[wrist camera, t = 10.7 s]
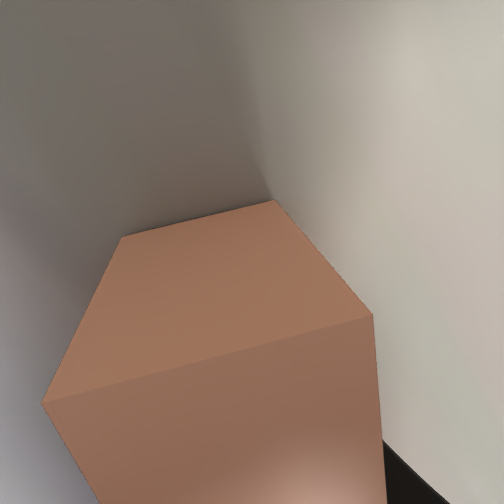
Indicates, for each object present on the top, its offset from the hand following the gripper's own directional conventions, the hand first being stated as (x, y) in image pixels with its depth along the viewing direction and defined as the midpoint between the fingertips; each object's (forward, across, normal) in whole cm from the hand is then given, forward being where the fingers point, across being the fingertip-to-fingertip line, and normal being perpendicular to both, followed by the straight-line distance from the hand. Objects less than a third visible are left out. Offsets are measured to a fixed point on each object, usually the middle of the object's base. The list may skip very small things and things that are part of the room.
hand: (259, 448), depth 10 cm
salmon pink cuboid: (+1, 0, 0) cm, 1 cm away
